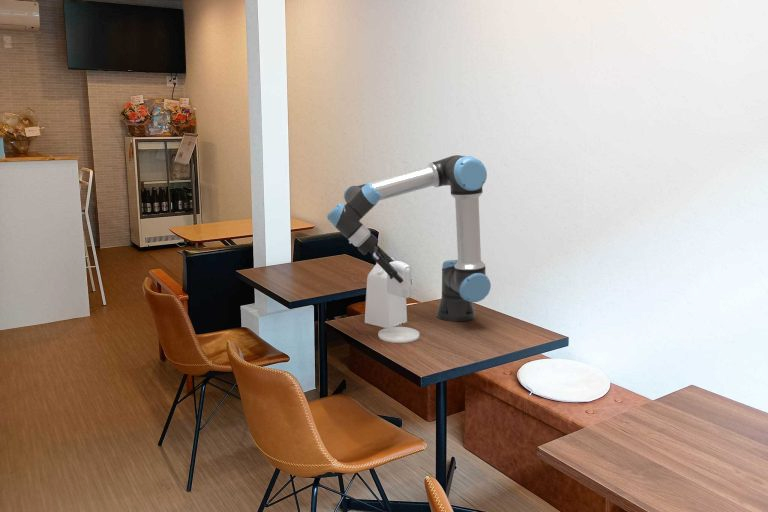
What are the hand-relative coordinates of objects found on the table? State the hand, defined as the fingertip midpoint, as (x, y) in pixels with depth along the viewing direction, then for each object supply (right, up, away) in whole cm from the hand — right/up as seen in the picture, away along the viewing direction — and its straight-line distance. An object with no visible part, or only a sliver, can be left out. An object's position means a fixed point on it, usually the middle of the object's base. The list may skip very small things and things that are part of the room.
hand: (408, 284), depth 235 cm
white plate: (-3, -19, +5) cm, 20 cm away
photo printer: (-3, -4, +1) cm, 5 cm away
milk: (-8, -16, +22) cm, 28 cm away
